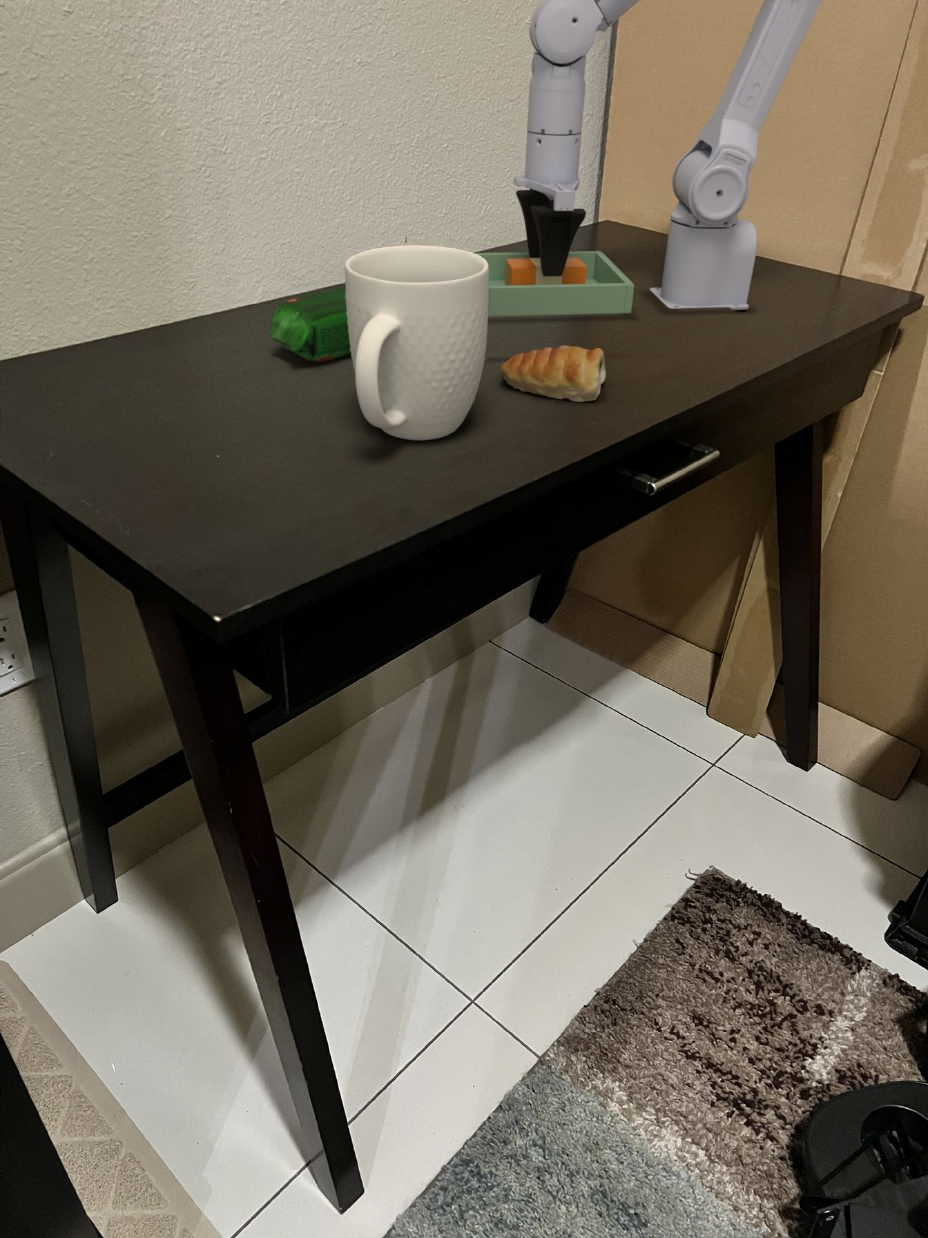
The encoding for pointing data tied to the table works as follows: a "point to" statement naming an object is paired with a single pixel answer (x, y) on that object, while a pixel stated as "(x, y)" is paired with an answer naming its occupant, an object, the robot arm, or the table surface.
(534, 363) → the pastry
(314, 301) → the snack package
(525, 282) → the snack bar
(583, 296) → the tub
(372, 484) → the table surface
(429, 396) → the mug
